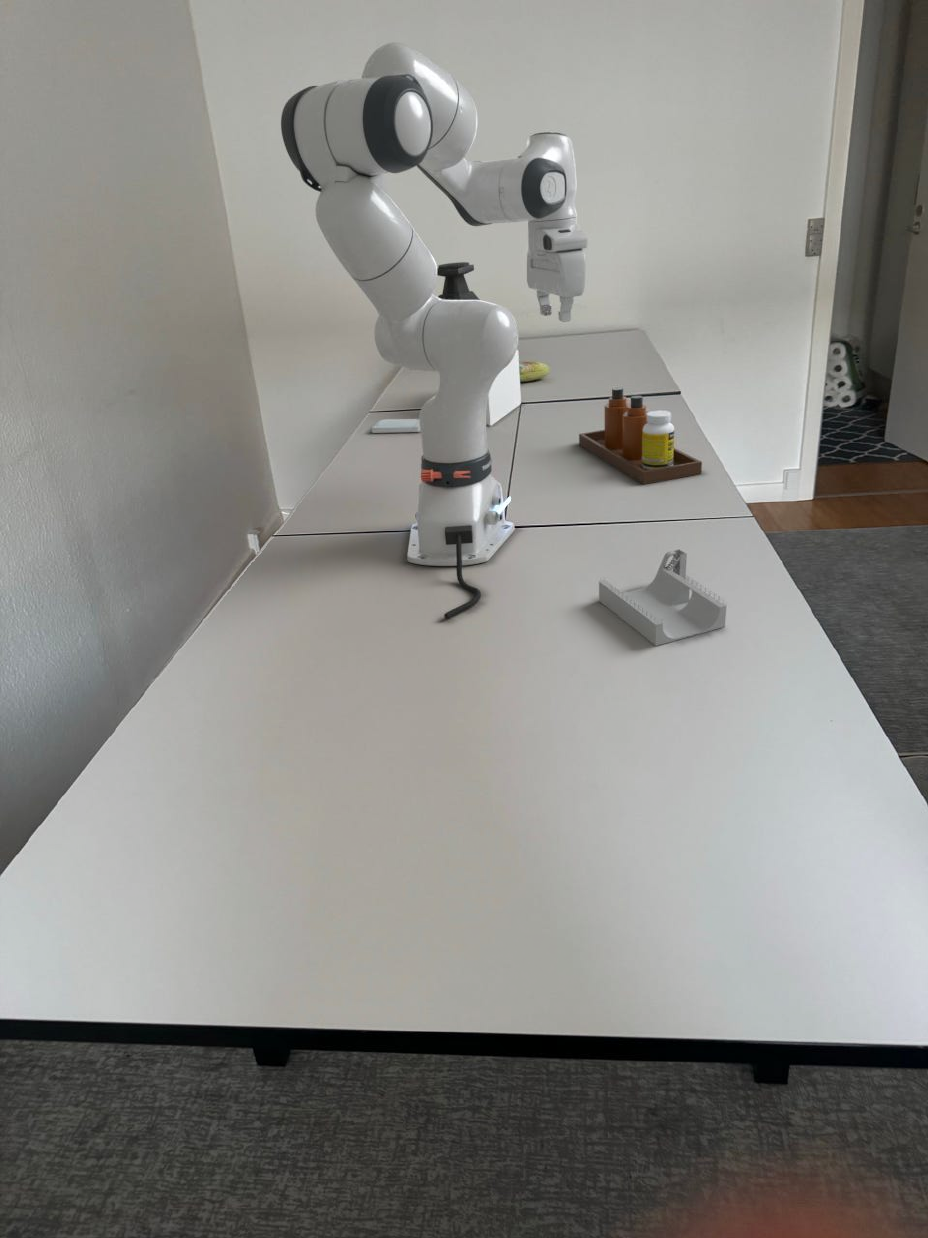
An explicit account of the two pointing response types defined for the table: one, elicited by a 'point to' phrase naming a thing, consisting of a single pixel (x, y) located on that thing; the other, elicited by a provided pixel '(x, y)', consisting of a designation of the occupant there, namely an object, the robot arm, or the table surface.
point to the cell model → (532, 370)
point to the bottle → (456, 281)
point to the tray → (640, 461)
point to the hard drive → (396, 426)
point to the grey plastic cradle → (666, 604)
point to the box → (504, 392)
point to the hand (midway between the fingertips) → (555, 318)
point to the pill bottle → (657, 441)
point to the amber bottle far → (615, 419)
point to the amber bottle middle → (634, 428)
